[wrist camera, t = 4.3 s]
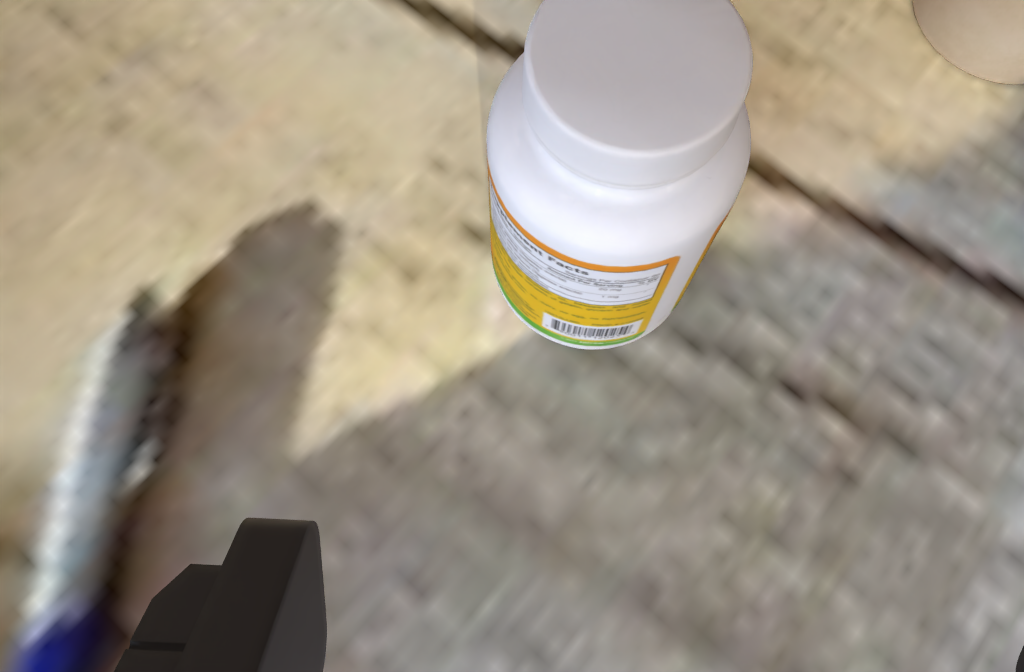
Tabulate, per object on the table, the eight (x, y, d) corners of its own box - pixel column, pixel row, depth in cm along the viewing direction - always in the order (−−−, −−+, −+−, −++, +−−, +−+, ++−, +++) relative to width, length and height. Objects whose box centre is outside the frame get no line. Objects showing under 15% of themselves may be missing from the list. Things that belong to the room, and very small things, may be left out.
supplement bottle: (605, 136, 26) (661, -128, 17) (728, 278, 25) (861, 79, 16) (452, 240, 25) (420, 21, 16) (571, 393, 24) (614, 254, 15)
